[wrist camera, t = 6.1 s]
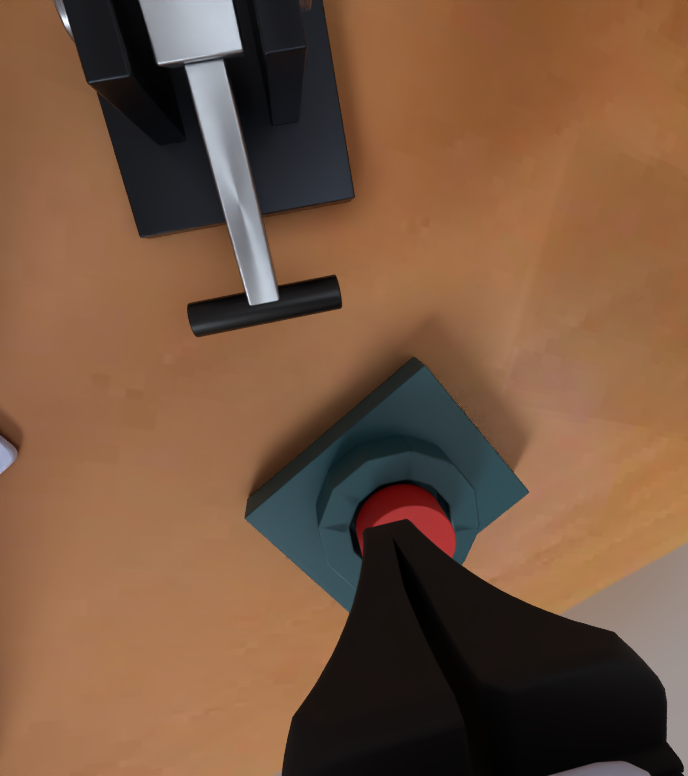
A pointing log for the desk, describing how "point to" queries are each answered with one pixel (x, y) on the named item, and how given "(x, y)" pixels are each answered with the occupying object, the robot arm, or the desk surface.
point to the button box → (382, 478)
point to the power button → (408, 514)
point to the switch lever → (228, 165)
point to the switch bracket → (254, 102)
